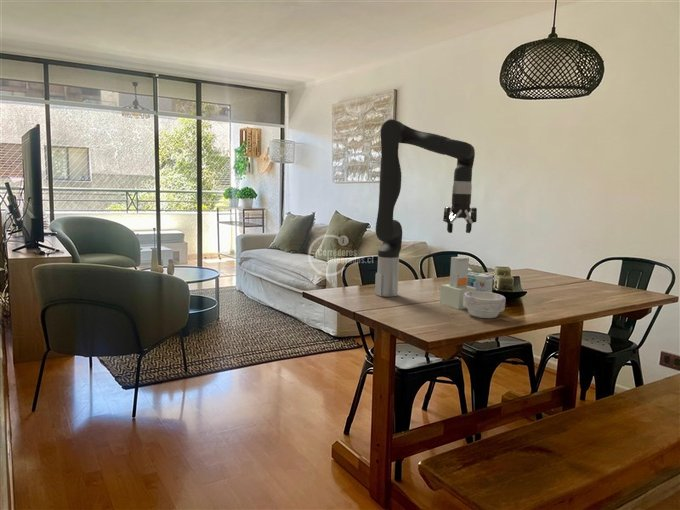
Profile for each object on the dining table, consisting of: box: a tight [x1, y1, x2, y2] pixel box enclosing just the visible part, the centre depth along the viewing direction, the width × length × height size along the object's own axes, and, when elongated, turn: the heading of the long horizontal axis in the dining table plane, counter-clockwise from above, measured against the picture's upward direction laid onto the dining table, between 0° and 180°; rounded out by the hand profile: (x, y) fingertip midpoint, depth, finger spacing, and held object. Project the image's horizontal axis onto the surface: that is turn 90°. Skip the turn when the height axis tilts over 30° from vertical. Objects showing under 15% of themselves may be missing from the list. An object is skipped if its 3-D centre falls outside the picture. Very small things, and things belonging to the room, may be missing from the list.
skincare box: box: [449, 256, 470, 287], centre depth 200 cm, size 6×4×12 cm
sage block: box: [439, 283, 476, 310], centre depth 201 cm, size 9×11×8 cm
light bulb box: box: [467, 271, 494, 293], centre depth 215 cm, size 11×7×11 cm, turn 47°
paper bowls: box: [463, 291, 507, 319], centre depth 185 cm, size 15×15×8 cm
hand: (459, 232), depth 201 cm, fingers open, 8 cm apart
